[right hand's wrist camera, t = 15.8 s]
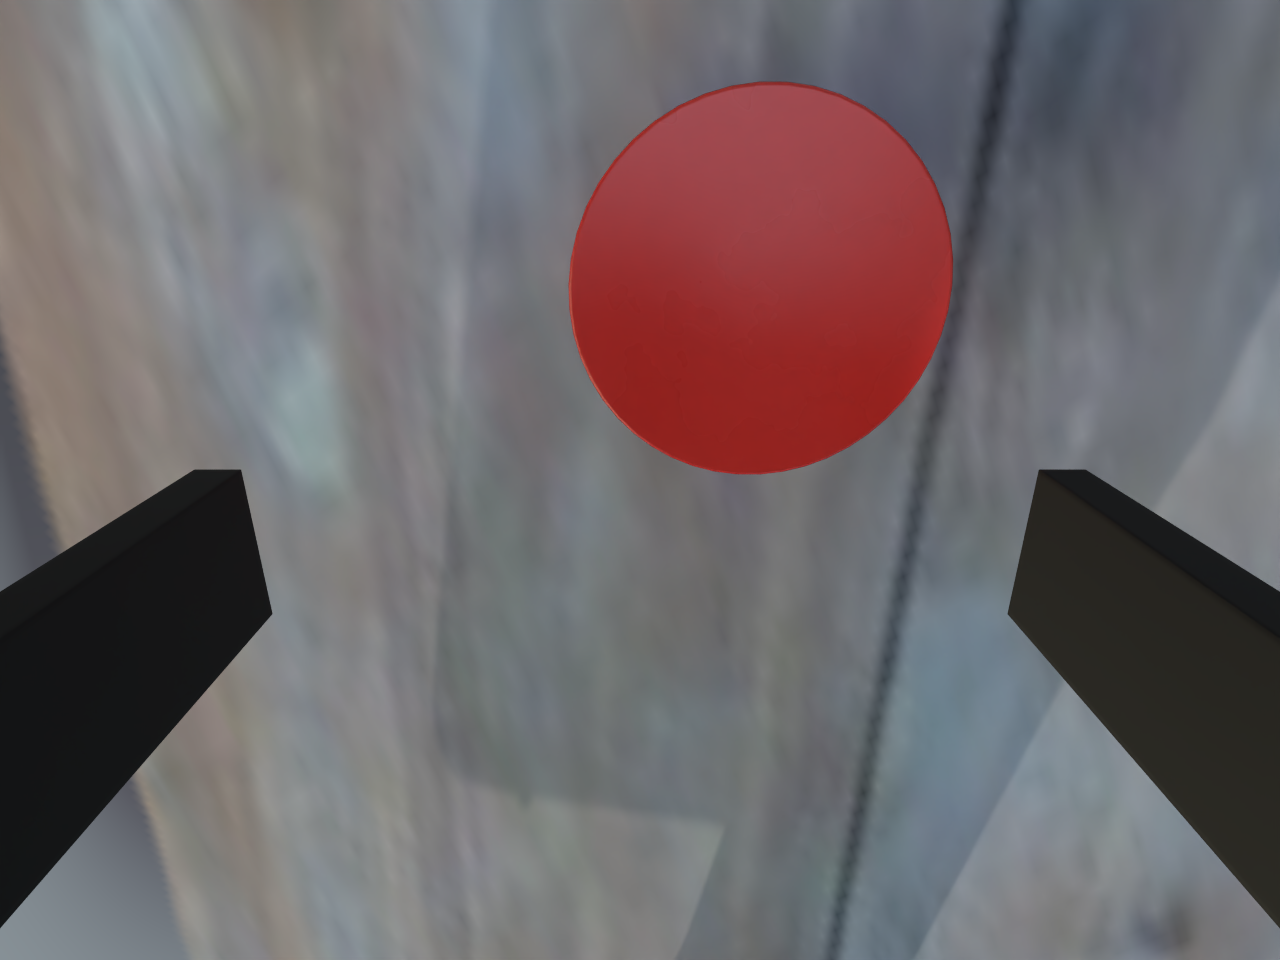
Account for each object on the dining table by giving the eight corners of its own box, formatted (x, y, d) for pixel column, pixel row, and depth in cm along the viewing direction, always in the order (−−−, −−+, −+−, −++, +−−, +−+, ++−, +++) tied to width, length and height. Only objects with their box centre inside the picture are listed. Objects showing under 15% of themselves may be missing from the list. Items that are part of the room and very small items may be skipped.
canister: (560, 193, 23) (497, 204, 13) (770, 80, 22) (880, -5, 12) (658, 391, 25) (668, 529, 15) (851, 299, 24) (1000, 383, 14)
